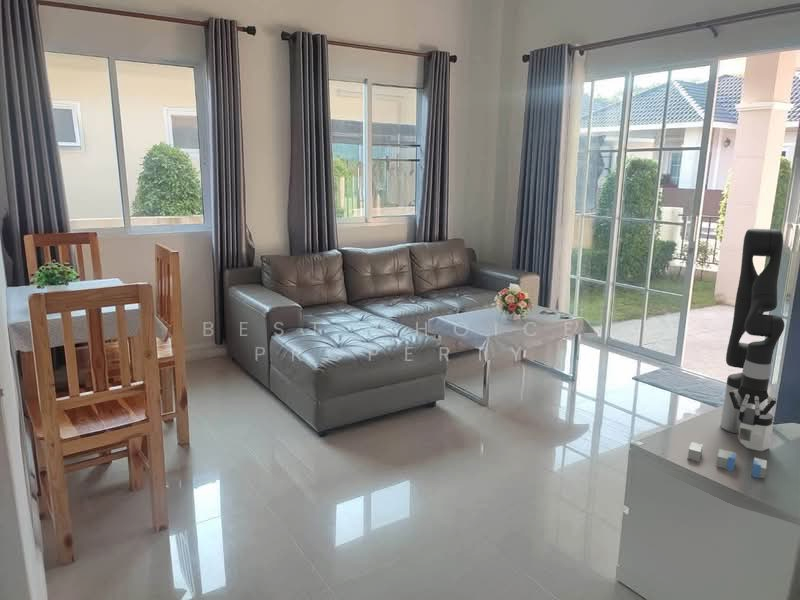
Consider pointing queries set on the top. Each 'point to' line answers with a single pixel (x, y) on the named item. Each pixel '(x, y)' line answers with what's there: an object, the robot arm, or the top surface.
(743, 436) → the tall dark pillar
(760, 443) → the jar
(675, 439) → the top surface
